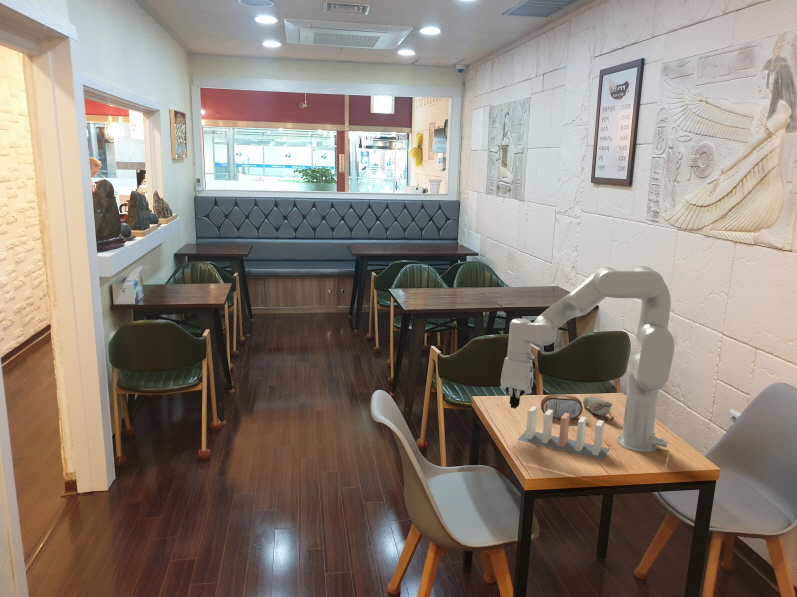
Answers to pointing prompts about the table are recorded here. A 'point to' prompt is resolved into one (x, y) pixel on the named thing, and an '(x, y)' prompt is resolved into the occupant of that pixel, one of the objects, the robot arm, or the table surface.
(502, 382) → the robot arm
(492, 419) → the table surface
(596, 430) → the tile
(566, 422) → the tile
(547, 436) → the tile
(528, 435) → the tile
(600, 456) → the slate mat
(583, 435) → the tile
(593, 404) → the decorative bird
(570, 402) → the tin
